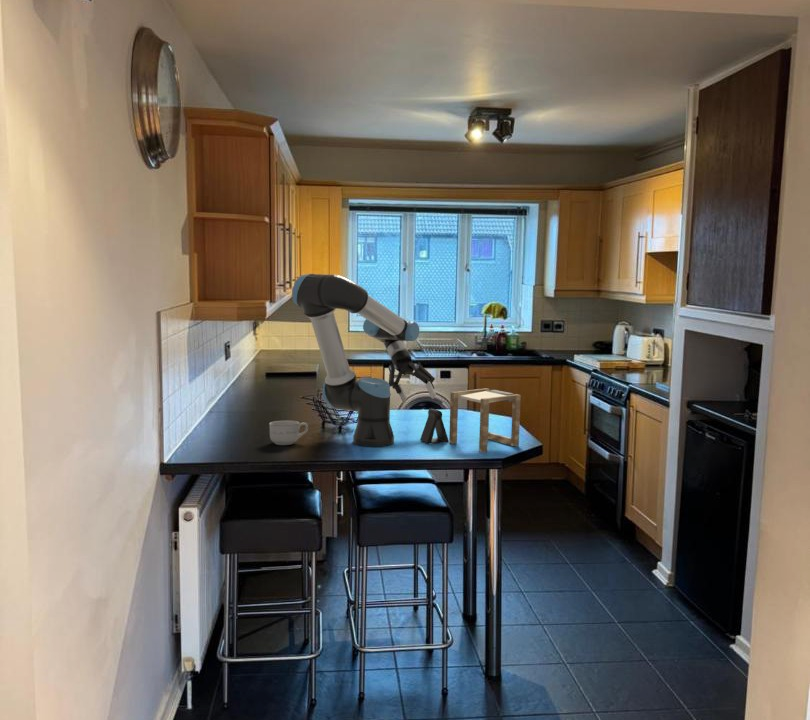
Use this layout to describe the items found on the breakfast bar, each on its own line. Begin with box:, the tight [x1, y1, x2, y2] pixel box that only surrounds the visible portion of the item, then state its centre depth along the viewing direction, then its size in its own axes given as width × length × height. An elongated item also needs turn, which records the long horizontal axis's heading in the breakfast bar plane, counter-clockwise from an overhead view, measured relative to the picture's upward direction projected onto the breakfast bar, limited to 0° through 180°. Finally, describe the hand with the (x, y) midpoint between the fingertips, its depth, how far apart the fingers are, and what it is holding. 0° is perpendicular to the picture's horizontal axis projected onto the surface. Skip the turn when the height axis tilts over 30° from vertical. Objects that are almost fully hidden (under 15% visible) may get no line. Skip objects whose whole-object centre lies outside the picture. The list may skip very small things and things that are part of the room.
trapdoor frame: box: [448, 387, 522, 454], centre depth 264 cm, size 18×18×19 cm
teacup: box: [268, 420, 309, 446], centre depth 260 cm, size 14×11×8 cm
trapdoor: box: [459, 389, 514, 404], centre depth 264 cm, size 13×16×3 cm
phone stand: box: [419, 407, 449, 445], centre depth 268 cm, size 9×6×12 cm, turn 113°
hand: (419, 398), depth 276 cm, fingers open, 13 cm apart
